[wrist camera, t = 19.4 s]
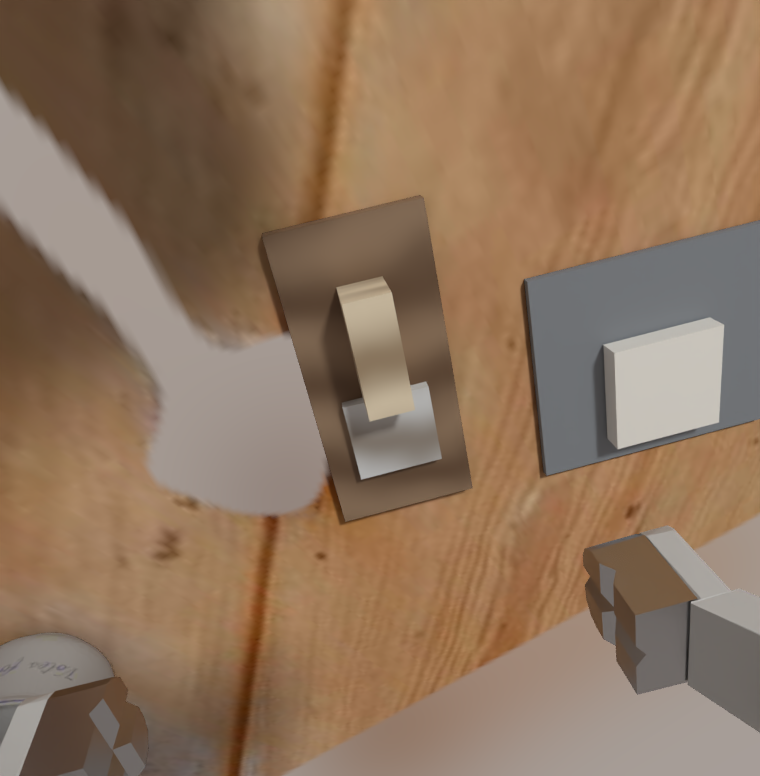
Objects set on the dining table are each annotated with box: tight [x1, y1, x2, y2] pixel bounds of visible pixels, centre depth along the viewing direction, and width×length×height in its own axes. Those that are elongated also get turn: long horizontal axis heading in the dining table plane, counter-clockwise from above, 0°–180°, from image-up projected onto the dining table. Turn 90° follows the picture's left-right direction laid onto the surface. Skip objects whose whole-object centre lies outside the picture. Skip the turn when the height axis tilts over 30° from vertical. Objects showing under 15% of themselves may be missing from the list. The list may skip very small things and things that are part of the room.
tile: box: [603, 317, 724, 449], centre depth 45 cm, size 2×8×8 cm
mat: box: [524, 220, 760, 476], centre depth 46 cm, size 16×18×1 cm
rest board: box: [262, 195, 472, 522], centre depth 43 cm, size 22×10×1 cm, turn 12°
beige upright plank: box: [336, 276, 442, 480], centre depth 41 cm, size 14×6×4 cm, turn 11°
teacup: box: [0, 633, 114, 746], centre depth 46 cm, size 14×11×8 cm
